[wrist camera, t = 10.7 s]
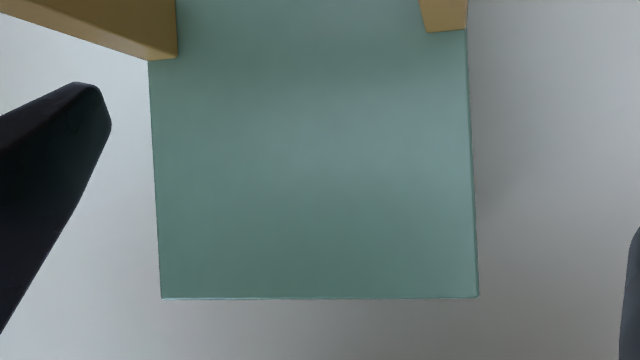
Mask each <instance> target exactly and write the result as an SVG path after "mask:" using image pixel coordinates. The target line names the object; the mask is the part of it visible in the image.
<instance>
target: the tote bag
mask: <svg viewBox="0 0 640 360" xmlns="http://www.w3.org/2000/svg"><path fill="white" fill-rule="evenodd" d="M467 10H468V0H0V12H1V13H4V14H7V15H10V16H13V17H16V18H19V19H22V20H25V21H28V22H31V23H34V24H37V25H40V26H43V27H46V28H49V29H52V30H56V31H59V32H62V33H65V34H68V35H71V36H74V37H77V38H80V39H83V40H86V41H89V42H92V43H95V44H98V45H101V46H104V47H107V48H110V49H113V50H116V51H119V52H122V53H125V54H128V55H131V56H134V57H137V58H140V59H143V60H146V61H148V77H149V94H150V112H151V129H152V147H153V164H154V182H155V199H156V217H157V234H158V252H159V269H160V287H161V298H162V299H163V300H245V299H434V298H478V297H479V295H480V292H479V272H478V252H477V231H476V211H475V191H474V170H473V150H472V130H471V110H470V89H469V69H468V49H467V28H466V26H467Z"/></svg>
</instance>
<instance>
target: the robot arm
mask: <svg viewBox="0 0 640 360" xmlns="http://www.w3.org/2000/svg"><path fill="white" fill-rule="evenodd" d="M111 126H112V124H111V118H110V115H109V113H108V110H107V107H106V104H105V101H104V99H103V96H102V93H101V91H100V89H99V88H98V87H97V86H95V85H91V84H86V83H81V82H72V83H69V84H67V85H65V86H63V87H61V88H59V89H57V90H55V91H52V92H50V93H48V94H46V95H44V96H42V97H40V98H38V99H35V100H33V101H31V102H29V103H27V104H25V105H23V106H21V107H18V108H16V109H14V110H12V111H10V112H8V113H6V114H4V115H1V116H0V334H1V333H2V331H3V329H4V328H5V326H6V324H7V323H8V321H9V319H10V318H11V316H12V314H13V313H14V311H15V309H16V307H17V306H18V304H19V302H20V301H21V299H22V297H23V296H24V294H25V292H26V291H27V289H28V287H29V286H30V284H31V282H32V281H33V279H34V277H35V276H36V274H37V272H38V271H39V269H40V267H41V266H42V264H43V262H44V260H45V259H46V257H47V255H48V254H49V252H50V250H51V249H52V247H53V245H54V244H55V242H56V240H57V239H58V237H59V235H60V234H61V232H62V230H63V229H64V227H65V225H66V224H67V222H68V220H69V219H70V217H71V215H72V213H73V212H74V210H75V208H76V206H77V204H78V202H79V200H80V198H81V196H82V194H83V192H84V190H85V188H86V186H87V184H88V181H89V179H90V177H91V175H92V173H93V170H94V168H95V166H96V164H97V162H98V159H99V157H100V155H101V153H102V151H103V148H104V146H105V144H106V142H107V140H108V137H109V135H110V132H111ZM619 360H640V227H639V228H638V230H637V231H636V233H635V235H634V237H633V239H632V241H631V244H630V248H629V255H628V264H627V273H626V282H625V291H624V300H623V309H622V318H621V327H620V338H619Z"/></svg>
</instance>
